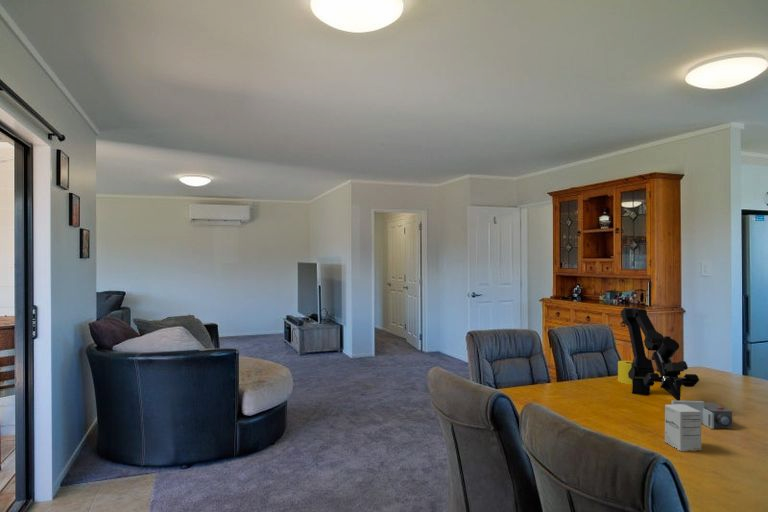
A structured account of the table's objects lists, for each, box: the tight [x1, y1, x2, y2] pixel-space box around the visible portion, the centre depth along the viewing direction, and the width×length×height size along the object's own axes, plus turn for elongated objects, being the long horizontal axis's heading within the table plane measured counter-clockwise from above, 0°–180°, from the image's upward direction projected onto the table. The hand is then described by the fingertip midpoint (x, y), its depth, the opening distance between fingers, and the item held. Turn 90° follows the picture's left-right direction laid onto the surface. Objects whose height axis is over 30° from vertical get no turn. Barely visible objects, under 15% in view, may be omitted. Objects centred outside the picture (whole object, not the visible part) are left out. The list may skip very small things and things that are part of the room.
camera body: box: [703, 401, 733, 429], centre depth 170 cm, size 12×7×7 cm, turn 175°
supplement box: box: [664, 403, 702, 452], centre depth 149 cm, size 7×7×13 cm
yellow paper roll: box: [617, 360, 633, 385], centre depth 227 cm, size 10×10×9 cm
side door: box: [671, 399, 715, 430], centre depth 168 cm, size 6×11×8 cm, turn 85°
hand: (678, 400), depth 177 cm, fingers closed
